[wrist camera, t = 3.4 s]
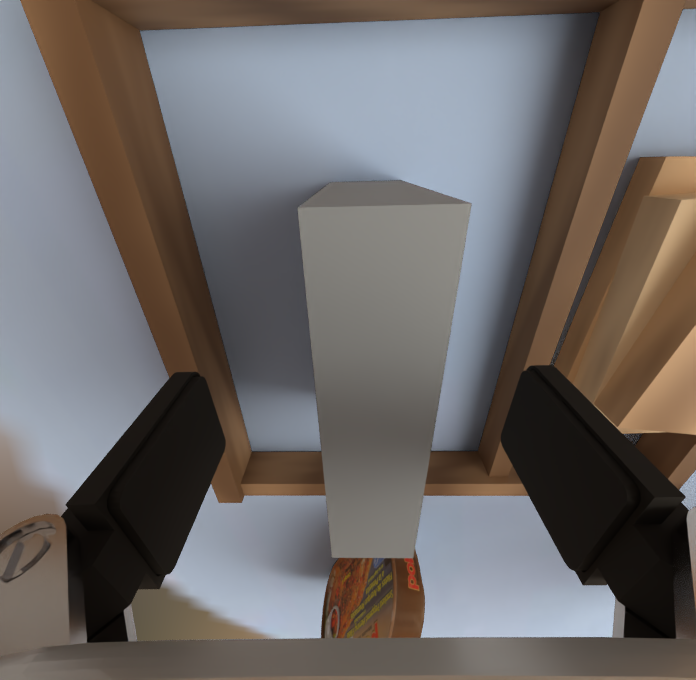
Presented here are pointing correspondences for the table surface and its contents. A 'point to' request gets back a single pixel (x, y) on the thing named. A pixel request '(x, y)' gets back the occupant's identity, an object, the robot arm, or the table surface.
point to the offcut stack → (642, 307)
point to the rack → (181, 249)
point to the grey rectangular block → (379, 349)
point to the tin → (374, 599)
